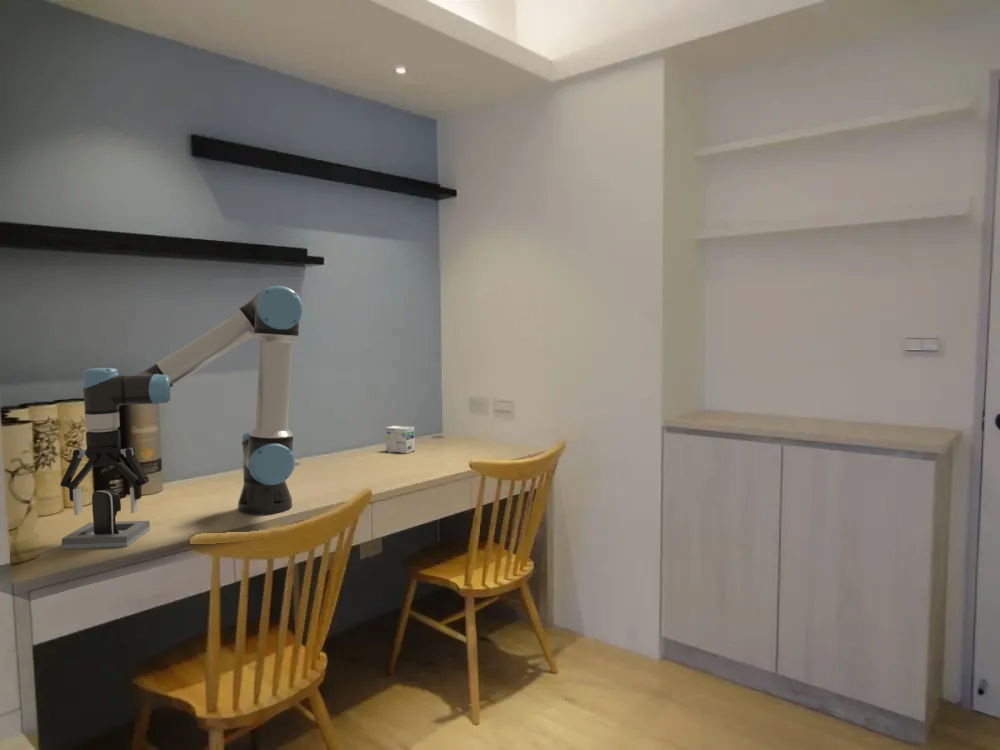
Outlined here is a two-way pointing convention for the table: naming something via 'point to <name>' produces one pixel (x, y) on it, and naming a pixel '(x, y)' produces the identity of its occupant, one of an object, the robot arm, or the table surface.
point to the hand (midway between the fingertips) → (106, 512)
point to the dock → (106, 535)
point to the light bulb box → (400, 439)
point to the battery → (105, 511)
